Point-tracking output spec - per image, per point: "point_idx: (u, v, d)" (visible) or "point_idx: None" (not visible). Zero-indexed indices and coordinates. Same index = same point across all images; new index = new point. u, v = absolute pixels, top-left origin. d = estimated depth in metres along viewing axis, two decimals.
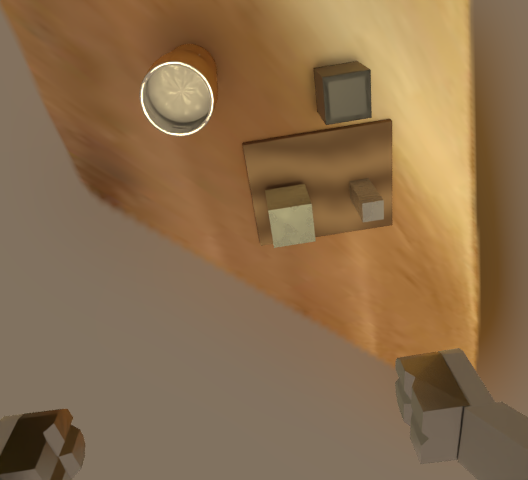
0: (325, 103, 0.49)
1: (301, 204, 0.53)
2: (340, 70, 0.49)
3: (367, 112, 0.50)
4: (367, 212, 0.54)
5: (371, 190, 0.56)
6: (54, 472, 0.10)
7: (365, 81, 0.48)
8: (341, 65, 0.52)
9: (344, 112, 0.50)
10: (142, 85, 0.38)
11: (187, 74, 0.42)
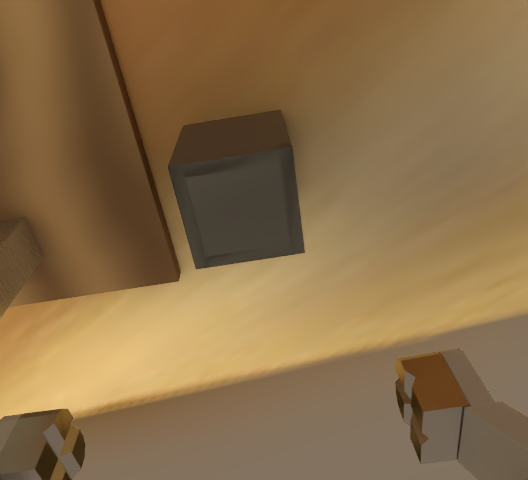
0: (225, 160, 0.18)
1: None
2: None
3: (207, 259, 0.21)
4: None
5: (10, 287, 0.22)
6: (54, 472, 0.10)
7: (278, 247, 0.21)
8: None
9: (204, 209, 0.19)
10: None
11: None
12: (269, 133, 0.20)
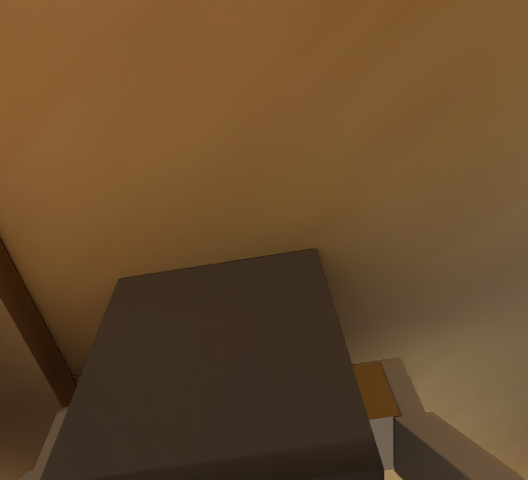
0: None
1: None
2: None
3: None
4: None
5: None
6: None
7: None
8: None
9: None
10: None
11: None
12: (305, 358, 0.08)
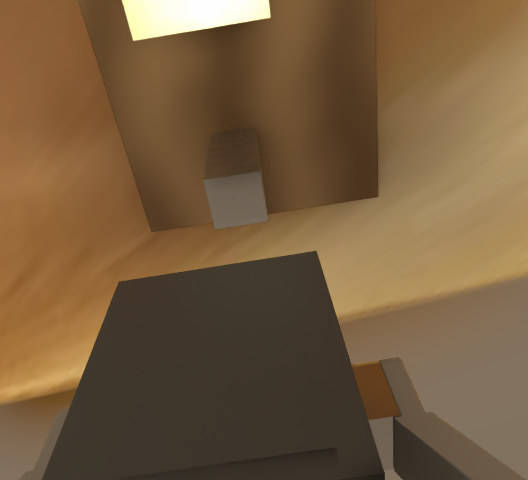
0: None
1: None
2: None
3: None
4: (233, 186, 0.20)
5: None
6: None
7: None
8: None
9: None
10: None
11: None
12: (305, 361, 0.08)
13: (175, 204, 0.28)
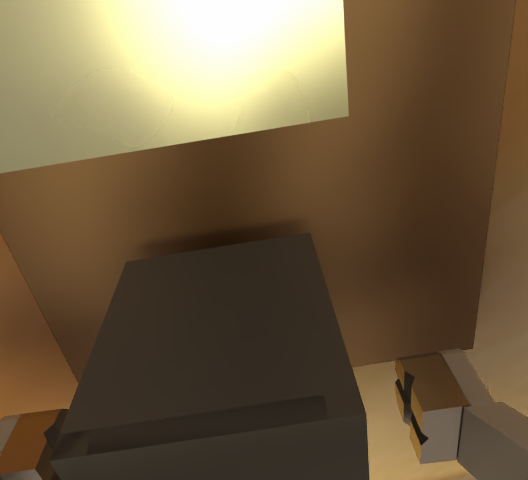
0: (196, 444, 0.07)
1: None
2: None
3: None
4: None
5: None
6: (54, 472, 0.10)
7: None
8: None
9: None
10: None
11: None
12: (298, 326, 0.09)
13: None
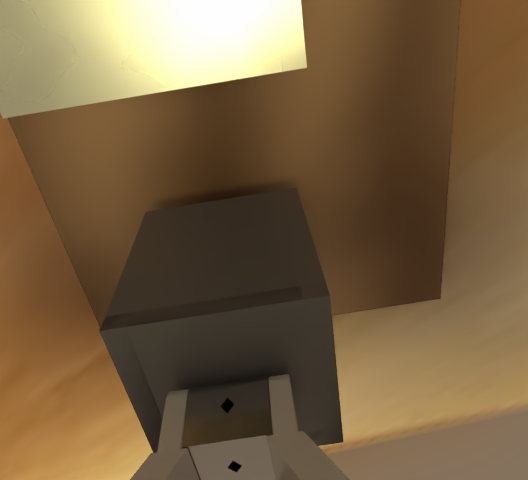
0: (206, 319, 0.10)
1: None
2: None
3: None
4: None
5: None
6: None
7: None
8: None
9: (171, 390, 0.11)
10: None
11: None
12: (283, 247, 0.12)
13: None
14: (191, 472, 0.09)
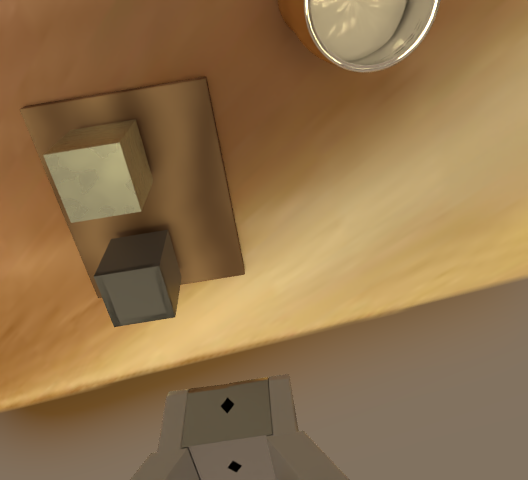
0: (124, 273, 0.35)
1: (137, 195, 0.32)
2: (169, 275, 0.38)
3: (120, 321, 0.37)
4: None
5: None
6: None
7: (159, 314, 0.37)
8: (175, 264, 0.40)
9: (115, 296, 0.36)
10: None
11: (378, 11, 0.25)
12: (153, 252, 0.37)
13: None
14: (191, 472, 0.09)
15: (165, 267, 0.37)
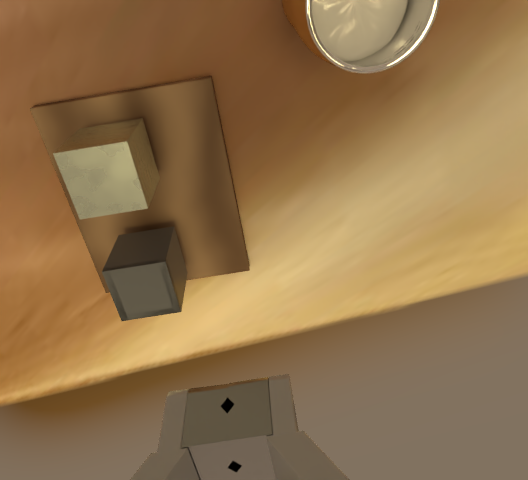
0: (131, 268, 0.36)
1: (143, 192, 0.33)
2: (175, 271, 0.38)
3: (127, 316, 0.38)
4: None
5: None
6: None
7: (166, 309, 0.38)
8: (181, 260, 0.41)
9: (123, 291, 0.37)
10: None
11: (379, 13, 0.25)
12: (159, 248, 0.37)
13: None
14: (191, 472, 0.09)
15: (171, 263, 0.37)
